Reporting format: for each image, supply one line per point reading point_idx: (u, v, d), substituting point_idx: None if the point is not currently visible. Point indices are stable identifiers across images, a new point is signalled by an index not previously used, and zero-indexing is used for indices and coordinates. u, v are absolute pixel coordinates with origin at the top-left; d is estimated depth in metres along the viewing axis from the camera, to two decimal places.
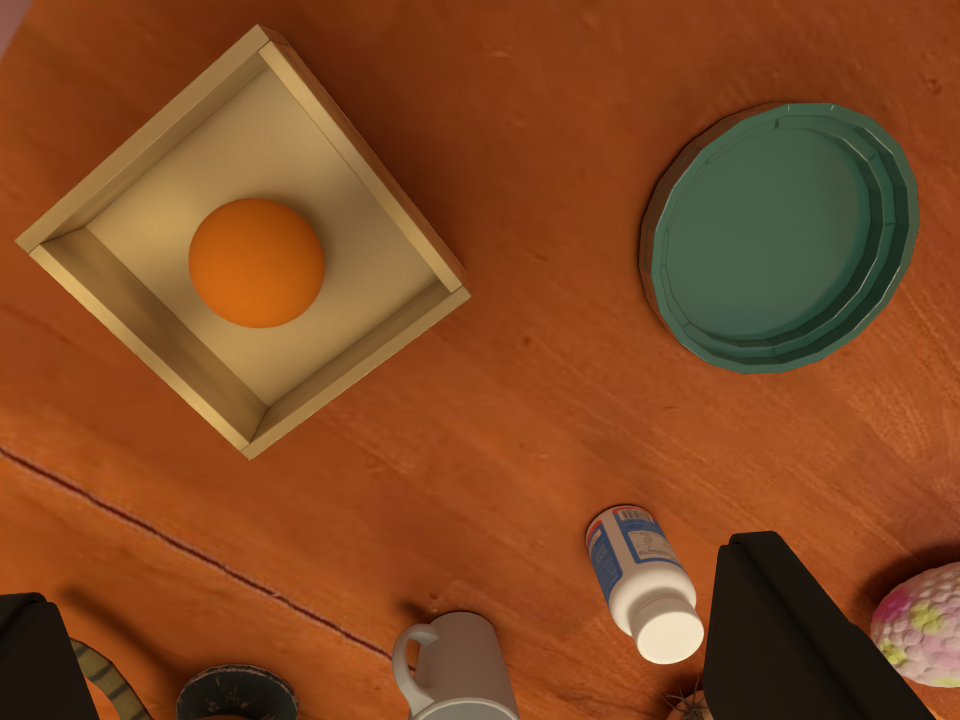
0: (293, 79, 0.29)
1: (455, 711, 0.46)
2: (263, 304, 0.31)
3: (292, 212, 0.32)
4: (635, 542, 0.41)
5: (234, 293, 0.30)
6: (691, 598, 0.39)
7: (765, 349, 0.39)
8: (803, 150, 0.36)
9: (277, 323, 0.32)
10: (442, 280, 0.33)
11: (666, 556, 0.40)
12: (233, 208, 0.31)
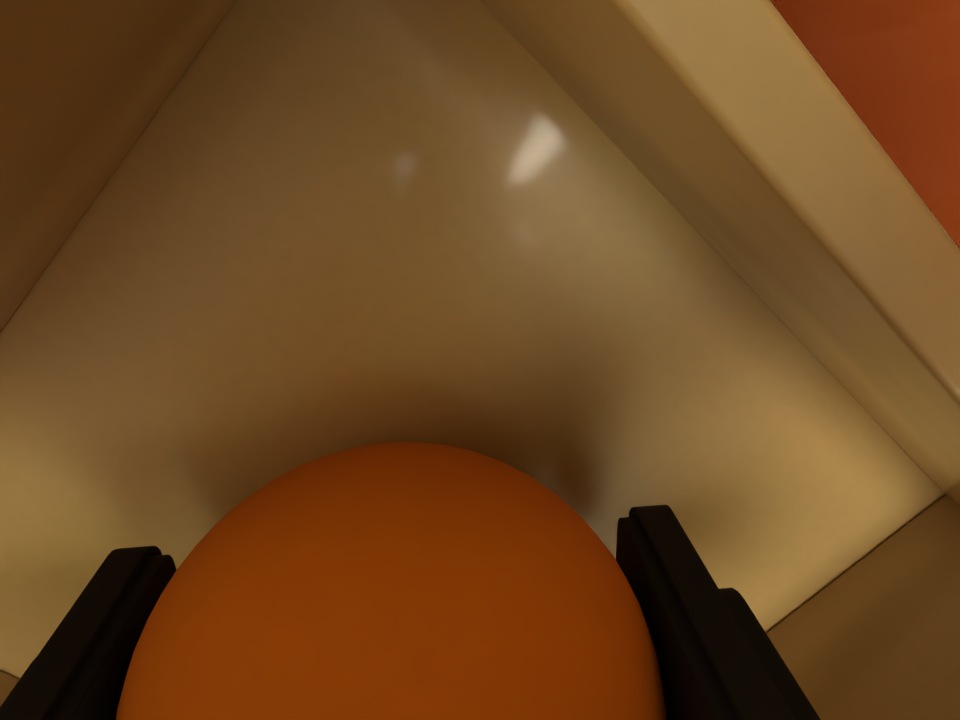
0: None
1: None
2: None
3: (521, 506, 0.07)
4: None
5: None
6: None
7: None
8: None
9: None
10: None
11: None
12: (273, 596, 0.06)
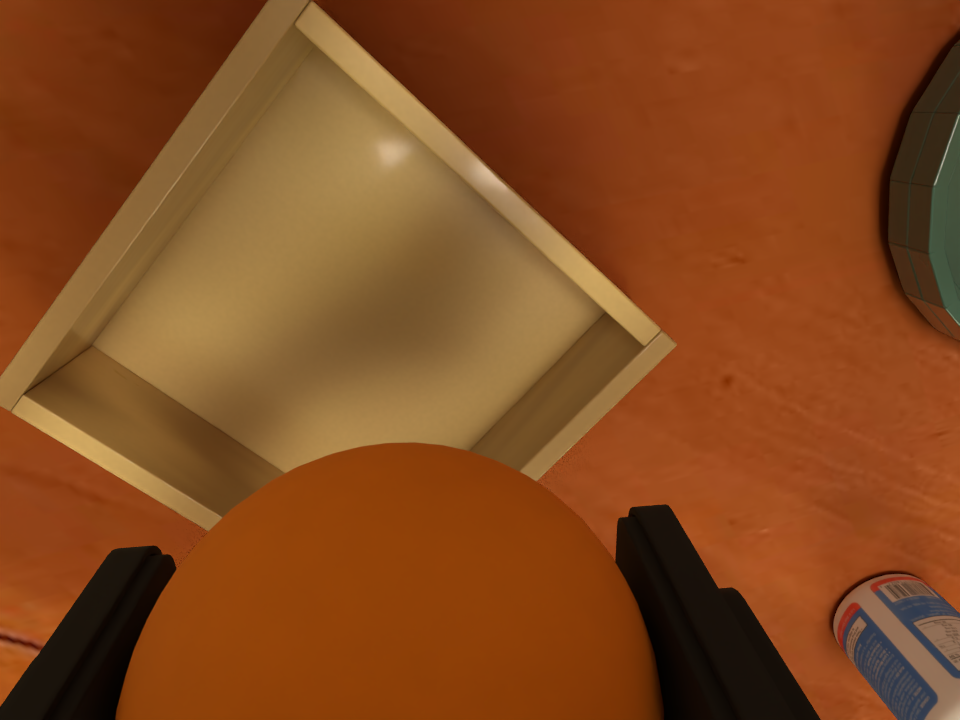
0: (357, 59, 0.17)
1: None
2: None
3: (520, 507, 0.07)
4: (934, 638, 0.28)
5: None
6: None
7: None
8: None
9: None
10: (629, 329, 0.21)
11: None
12: (272, 596, 0.06)
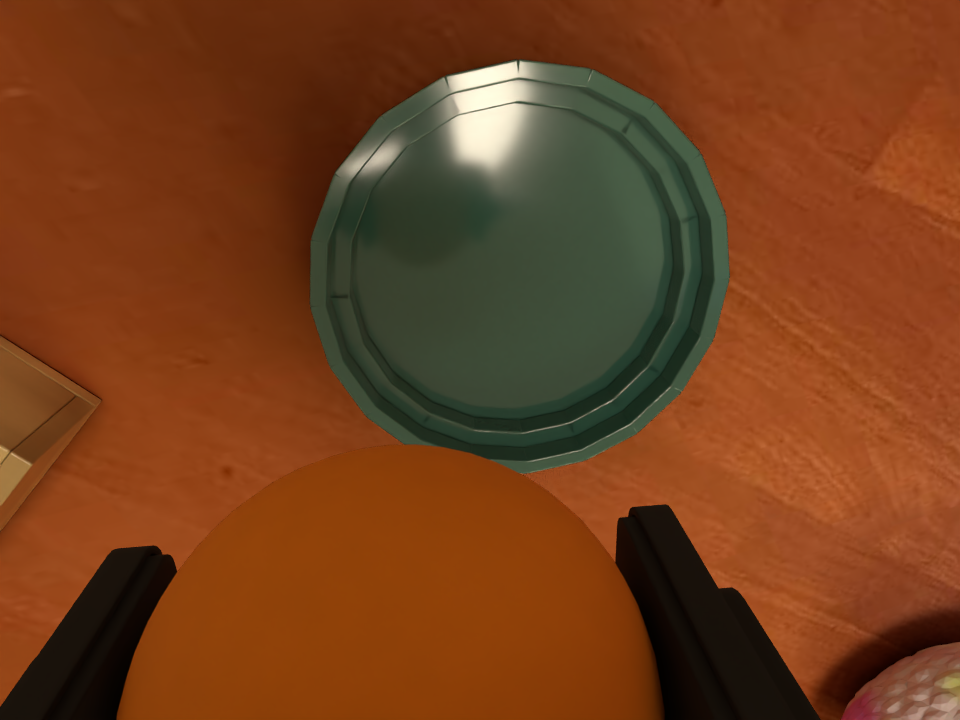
0: None
1: None
2: None
3: (520, 510, 0.07)
4: None
5: None
6: None
7: (558, 428, 0.27)
8: (526, 135, 0.23)
9: None
10: None
11: None
12: (272, 599, 0.06)
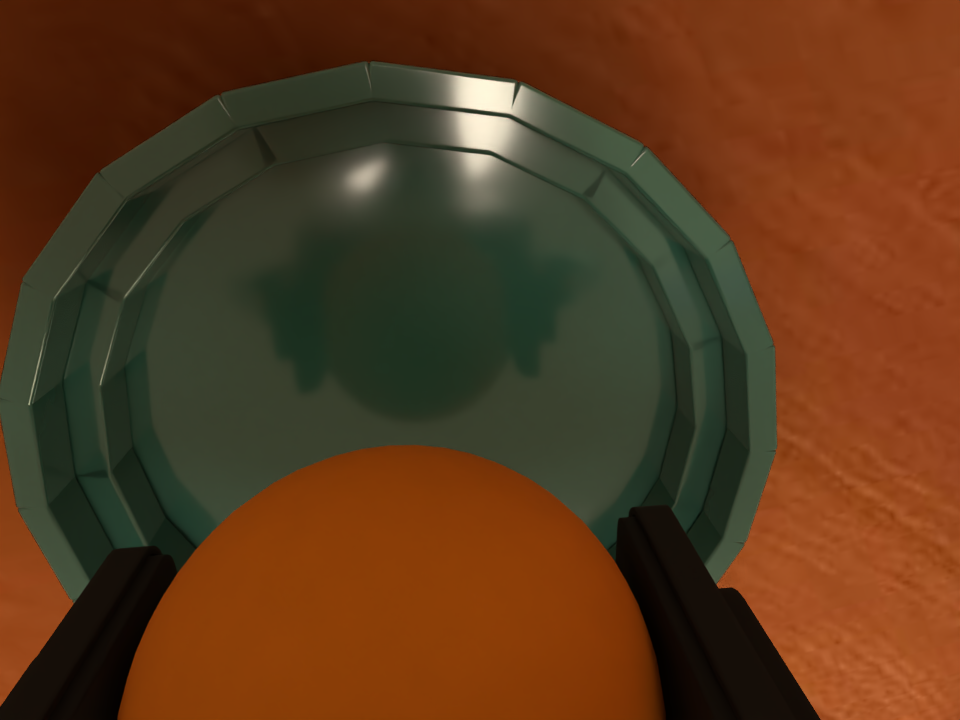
0: None
1: None
2: None
3: (521, 510, 0.07)
4: None
5: None
6: None
7: None
8: (418, 197, 0.13)
9: None
10: None
11: None
12: (274, 600, 0.06)
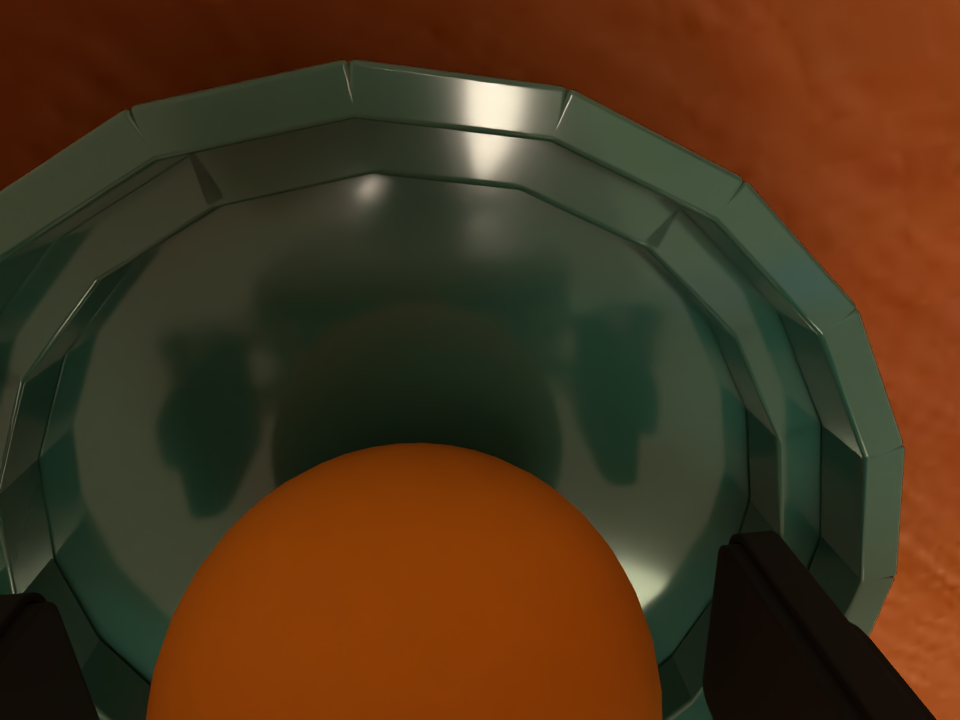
0: None
1: None
2: None
3: (528, 507, 0.08)
4: None
5: None
6: None
7: None
8: (420, 242, 0.10)
9: None
10: None
11: None
12: (299, 597, 0.06)
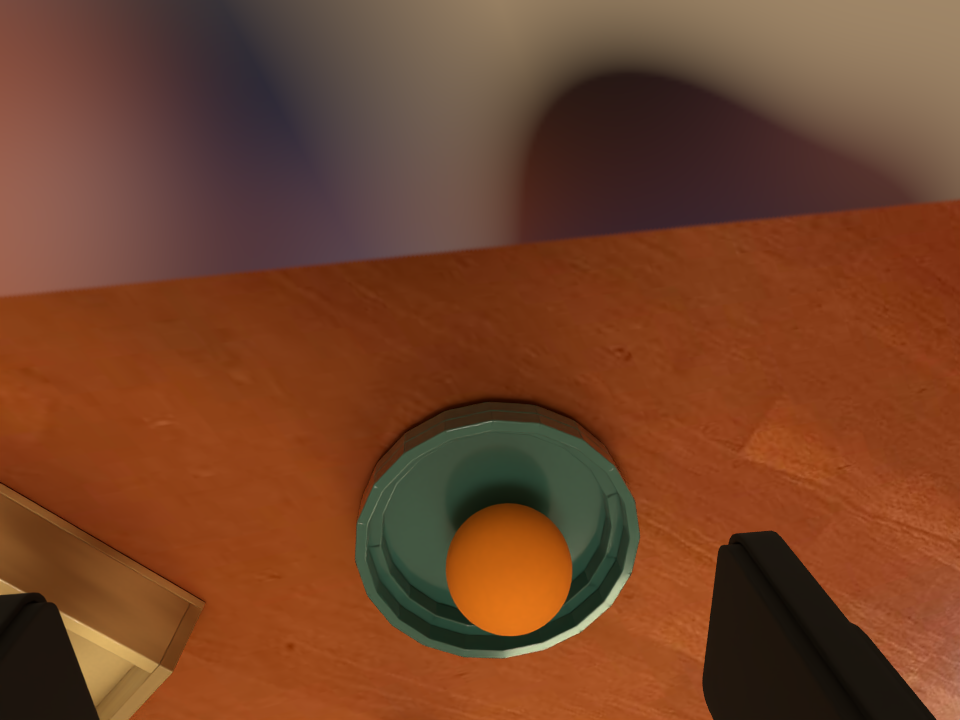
0: None
1: None
2: (540, 625, 0.32)
3: (539, 522, 0.32)
4: None
5: (517, 627, 0.31)
6: None
7: None
8: (501, 441, 0.35)
9: None
10: (137, 665, 0.33)
11: None
12: (495, 545, 0.31)
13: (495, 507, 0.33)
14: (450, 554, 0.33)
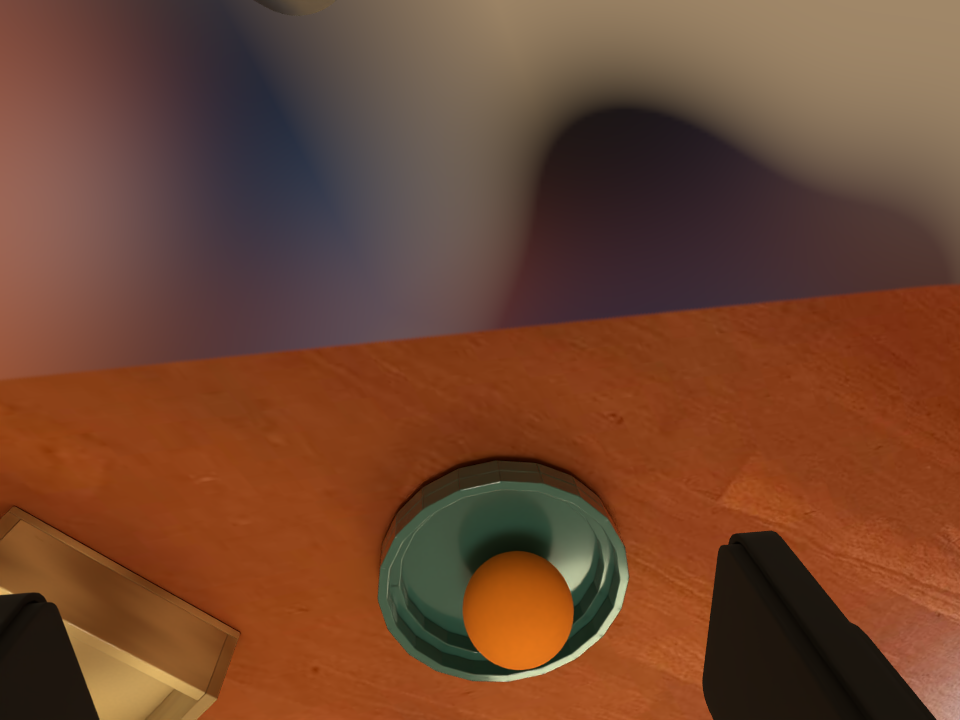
0: (0, 592, 0.34)
1: None
2: None
3: (545, 571, 0.37)
4: None
5: (530, 664, 0.36)
6: None
7: None
8: (507, 494, 0.39)
9: None
10: (186, 694, 0.37)
11: None
12: (510, 597, 0.35)
13: (505, 558, 0.38)
14: (468, 602, 0.37)
